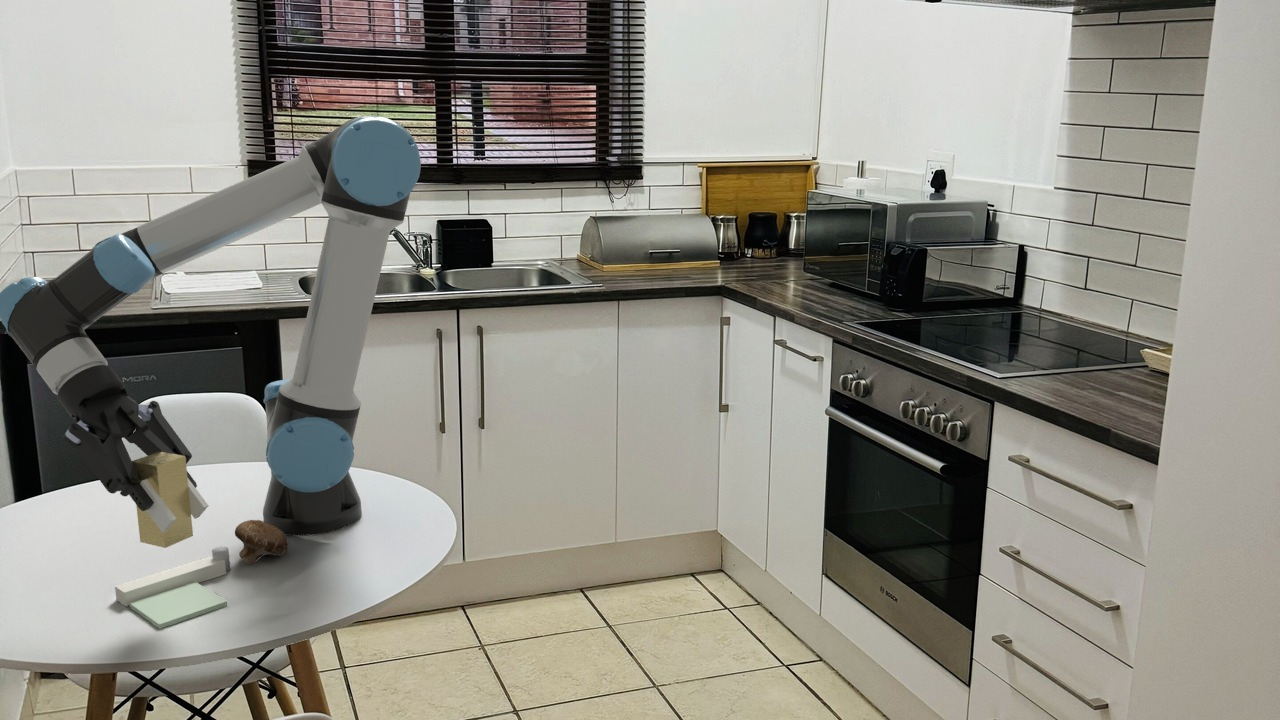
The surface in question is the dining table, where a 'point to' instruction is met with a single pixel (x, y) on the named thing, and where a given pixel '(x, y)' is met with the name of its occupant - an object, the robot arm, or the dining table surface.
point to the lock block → (165, 497)
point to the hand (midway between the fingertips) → (185, 518)
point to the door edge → (175, 577)
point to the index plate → (177, 604)
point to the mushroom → (260, 540)
